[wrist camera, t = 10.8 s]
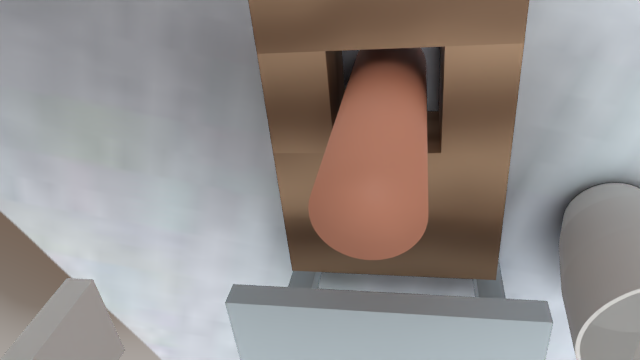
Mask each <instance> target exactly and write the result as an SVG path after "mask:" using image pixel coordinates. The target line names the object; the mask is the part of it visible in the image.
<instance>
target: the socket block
mask: <svg viewBox="0 0 640 360" xmlns="http://www.w3.org/2000/svg"><path fill="white" fill-rule="evenodd" d="M248 2H249V8H250V14H251V20H252V26H253V33H254V39H255V45H256V51H257V57H258V63H259V69H260V75H261V82H262V88H263V94H264V100H265V106H266V112H267V118H268V124H269V131H270V137H271V143H272V149H273V155H274V161H275V167H276V173H277V180H278V186H279V192H280V198H281V204H282V210H283V216H284V223H285V229H286V235H287V241H288V247H289V253H290V259H291V265H292V271H311V272H332V273H353V274H375V275H396V276H418V277H439V278H460V279H482V280H496V275H497V267H498V258H499V250H500V242H501V233H502V225H503V216H504V208H505V200H506V191H507V183H508V174H509V166H510V157H511V149H512V141H513V132H514V124H515V115H516V107H517V99H518V90H519V82H520V73H521V65H522V57H523V48H524V40H525V31H526V23H527V14H528V6H529V0H248ZM419 47H441V52H440V84H439V111H427V150H428V223H427V227H426V230H425V232H424V234H423V236H422V237H421V239H420V240H419V241H418V242H417V243H416V244H415V245H414V246H413V247H412V248H411V249H409V250H408V251H406V252H404V253H402V254H400V255H398V256H395V257H392V258H388V259H382V260H363V259H357V258H353V257H350V256H347V255H344V254H342V253H340V252H338V251H336V250H334V249H333V248H331V247H330V246H329V245H327V244H326V243H325V242H324V241H323V240H322V239H321V238H320V237H319V235H318V234H317V233H316V231H315V230H314V228H313V226H312V224H311V221H310V217H309V211H308V204H309V198H310V195H311V192H312V189H313V186H314V183H315V180H316V177H317V174H318V171H319V168H320V165H321V162H322V159H323V156H324V153H325V150H326V147H327V144H328V141H329V138H330V135H331V132H332V129H333V126H334V123H335V120H336V117H337V114H338V111H339V108H340V105H341V102H342V99H343V96H344V93H345V85H344V71H343V58H342V51H343V50H369V49H394V48H419Z"/></svg>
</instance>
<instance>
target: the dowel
mask: <svg viewBox="0 0 640 360" xmlns="http://www.w3.org/2000/svg"><path fill="white" fill-rule="evenodd" d="M308 211H309V217H310V221H311V224H312V226H313V228H314V230H315V231H316V233H317V234H318V235H319V237H320V238H321V239H322V240H323V241H324V242H325V243H326V244H327V245H329V246H330V247H331V248H333V249H334V250H336V251H338V252H340V253H342V254H344V255H347V256H350V257H353V258H357V259H363V260H382V259H388V258H392V257H395V256H398V255H400V254H402V253H404V252H406V251H408V250H409V249H411V248H412V247H413V246H414V245H415V244H416V243H417V242H418V241H419V240H420V239H421V237H422V236H423V234H424V232H425V230H426V227H427V223H428V150H427V83H426V60H425V56H424V53H423V52H422V50H421V48H420V47H419V48H394V49H369V50H359V52H358V54H357V57H356V60H355V63H354V66H353V69H352V72H351V75H350V78H349V81H348V84H347V87H346V90H345V93H344V96H343V99H342V102H341V105H340V108H339V111H338V114H337V117H336V120H335V123H334V126H333V129H332V132H331V135H330V138H329V141H328V144H327V147H326V150H325V153H324V156H323V159H322V162H321V165H320V168H319V171H318V174H317V177H316V180H315V183H314V186H313V189H312V192H311V195H310V198H309V204H308Z"/></svg>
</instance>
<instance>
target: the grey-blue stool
mask: <svg viewBox="0 0 640 360" xmlns="http://www.w3.org/2000/svg"><path fill="white" fill-rule="evenodd" d="M321 273H322V272H311V271H293V273H292V276H291V279H290V283H289V286H288V287H275V286H256V285H237V284H233V286H232V288H231V291H230V293H229V295H228V297H227V300H226V302H225V304H226V308H227V312H228V315H229V319H230V323H231V327H232V330H233V334H234V338H235V342H236V345H237V349H238V353H239V357H240V360H545V359H546V355H547V350H548V345H549V341H550V336H551V331H552V326H553V320H552V317H551V313H550V309H549V306H548V302H547V301H537V300H518V299H506V298H505V292H504V287H503V282H502V276H501V271H500V265H499V261H498V267H497V275H496V280H482V279H473V284H474V292H475V297H462V296H443V295H425V294H406V293H387V292H368V291H350V290H331V289H318V285H319V281H320V277H321Z"/></svg>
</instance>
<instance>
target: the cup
mask: <svg viewBox="0 0 640 360" xmlns="http://www.w3.org/2000/svg"><path fill="white" fill-rule="evenodd" d="M559 259H560V275H561V290H562V296H563V301H564V305H565V310H566V314H567V319H568V324H569V328H570V333H571V337H572V342H573V346H574V351H575V355H576V359H577V360H632V359H633V356H634V354H635V351H636V348H637V345H638V342H639V340H640V189H639V188H637V187H635V186H633V185H629V184H625V183H606V184H601V185H597V186H594V187H591V188H589V189H587V190H585V191H583V192H581V193H580V194H579V195H577V196H576V197H575V198H574V199H573V200H572V201H571V202H570V203H569V205H568V206H567V208H566V210H565V212H564V216H563V222H562V228H561V234H560V240H559Z"/></svg>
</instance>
